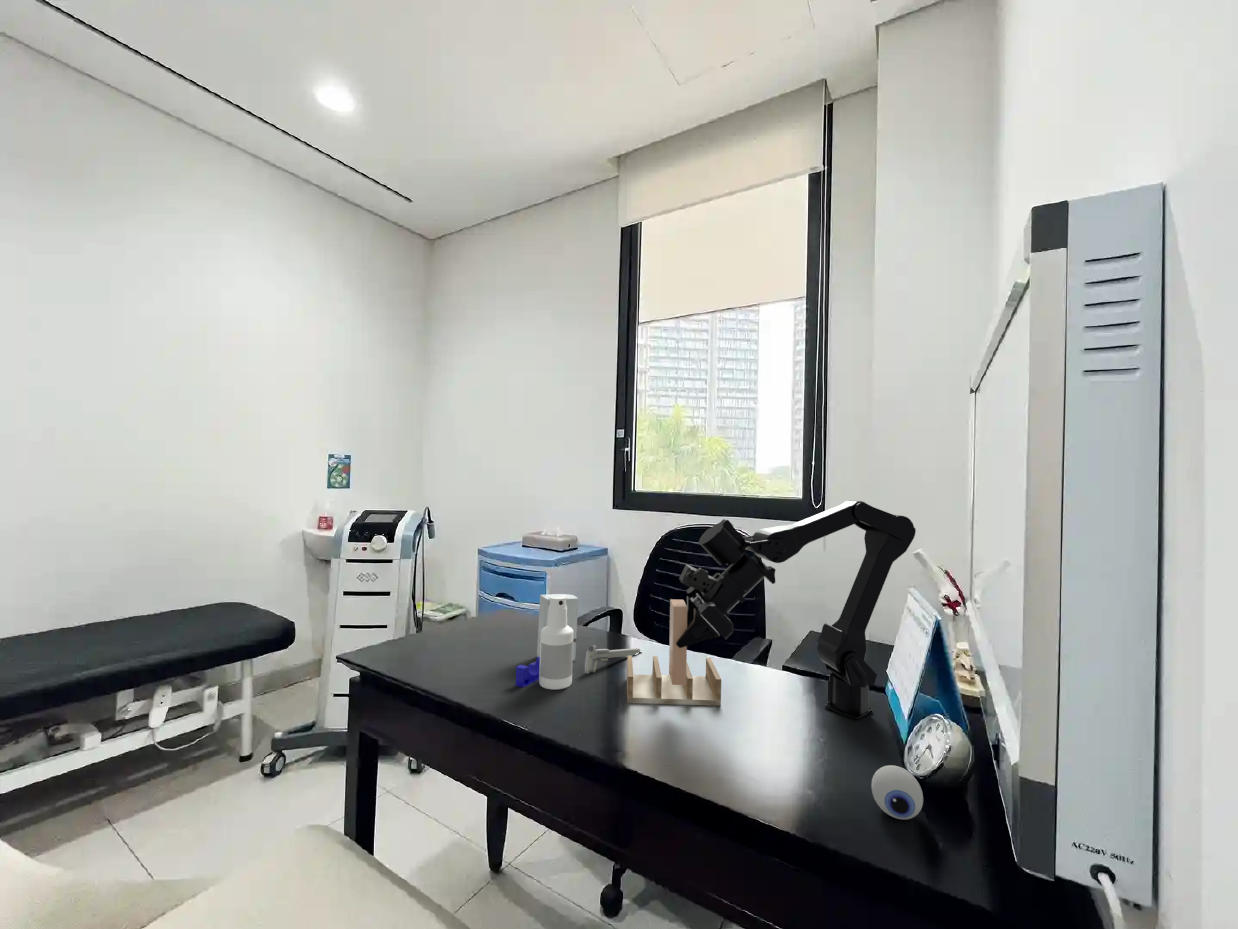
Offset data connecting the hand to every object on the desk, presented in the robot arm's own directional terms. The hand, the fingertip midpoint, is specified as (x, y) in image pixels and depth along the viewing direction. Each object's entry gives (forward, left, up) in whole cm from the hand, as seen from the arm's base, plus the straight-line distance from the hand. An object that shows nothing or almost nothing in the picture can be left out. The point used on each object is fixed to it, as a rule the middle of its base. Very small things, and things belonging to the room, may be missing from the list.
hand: (675, 640), depth 96 cm
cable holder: (+29, +14, -14) cm, 35 cm away
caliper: (+27, -7, -14) cm, 31 cm away
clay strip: (0, 0, -7) cm, 7 cm away
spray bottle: (+24, +11, -14) cm, 30 cm away
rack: (+8, -7, -13) cm, 17 cm away
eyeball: (-38, -4, -14) cm, 40 cm away
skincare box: (+37, +3, -14) cm, 40 cm away
